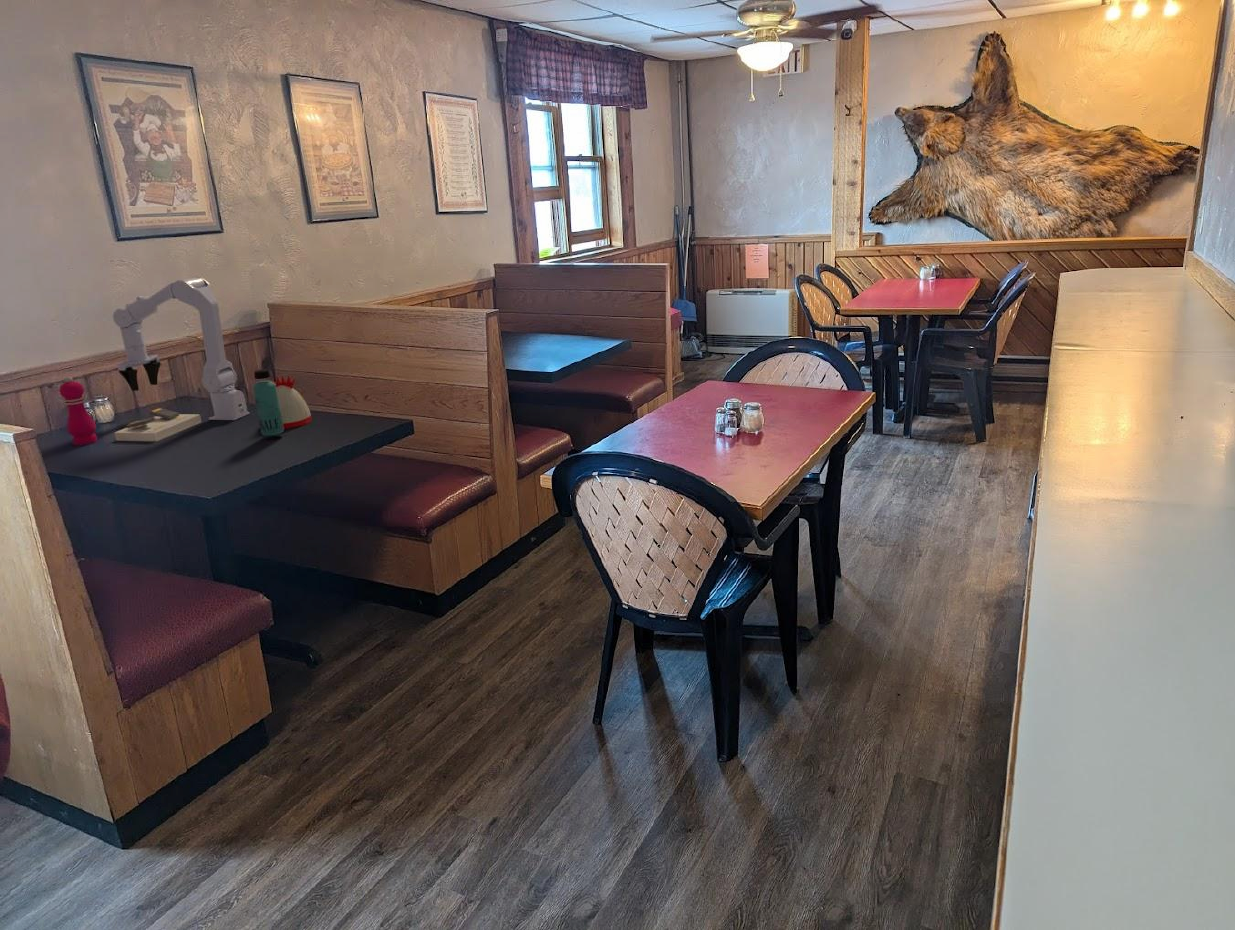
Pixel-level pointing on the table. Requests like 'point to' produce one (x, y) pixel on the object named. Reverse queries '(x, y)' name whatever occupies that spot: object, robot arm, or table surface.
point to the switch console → (158, 428)
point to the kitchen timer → (291, 404)
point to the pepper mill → (78, 413)
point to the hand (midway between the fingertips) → (144, 387)
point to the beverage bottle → (267, 404)
